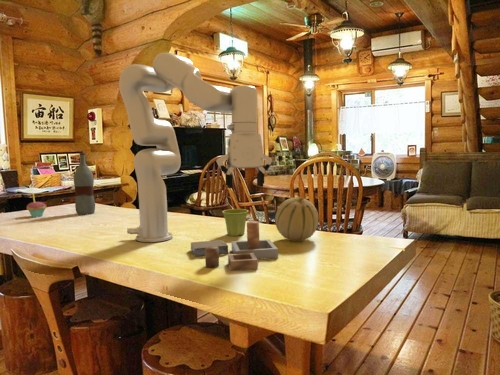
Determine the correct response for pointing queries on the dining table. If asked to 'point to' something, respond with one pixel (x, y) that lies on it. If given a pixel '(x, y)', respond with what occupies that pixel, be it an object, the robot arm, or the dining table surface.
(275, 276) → the dining table surface
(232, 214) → the plant pot
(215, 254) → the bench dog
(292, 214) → the cantaloupe
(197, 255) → the grey rectangular block
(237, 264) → the socket block
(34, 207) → the cupcake
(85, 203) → the bottle
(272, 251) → the tray
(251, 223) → the dowel
